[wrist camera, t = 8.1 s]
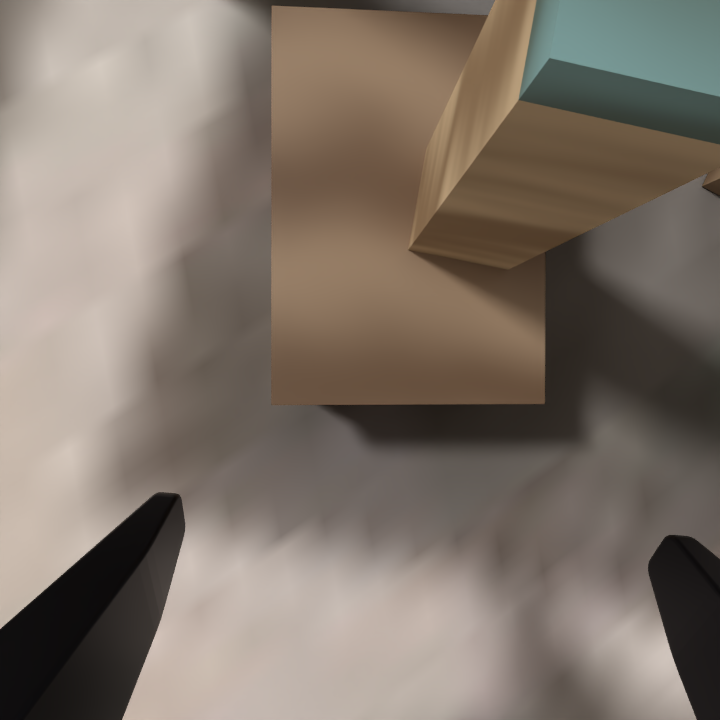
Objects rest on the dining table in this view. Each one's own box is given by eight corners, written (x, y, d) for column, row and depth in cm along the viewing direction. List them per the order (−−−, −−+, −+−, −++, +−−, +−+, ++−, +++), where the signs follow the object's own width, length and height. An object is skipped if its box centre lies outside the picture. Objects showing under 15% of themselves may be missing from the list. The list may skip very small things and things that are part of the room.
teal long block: (507, 269, 17) (819, 119, 6) (408, 250, 17) (549, 57, 6) (526, 169, 17) (868, -157, 6) (426, 148, 17) (601, -227, 6)
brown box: (519, 394, 22) (568, 403, 17) (283, 394, 21) (271, 404, 17) (520, 88, 22) (570, 18, 17) (283, 79, 21) (271, 5, 17)
